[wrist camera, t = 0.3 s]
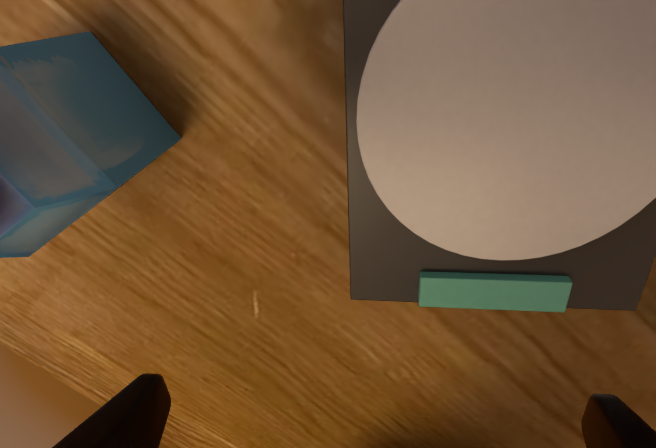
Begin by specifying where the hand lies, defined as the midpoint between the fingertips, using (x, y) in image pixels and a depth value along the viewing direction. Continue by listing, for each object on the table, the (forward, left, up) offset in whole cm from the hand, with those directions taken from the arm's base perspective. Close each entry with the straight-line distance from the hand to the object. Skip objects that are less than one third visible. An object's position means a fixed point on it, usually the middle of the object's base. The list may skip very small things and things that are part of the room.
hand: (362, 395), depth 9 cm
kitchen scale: (+2, -6, -15) cm, 16 cm away
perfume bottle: (+2, +14, -15) cm, 21 cm away
